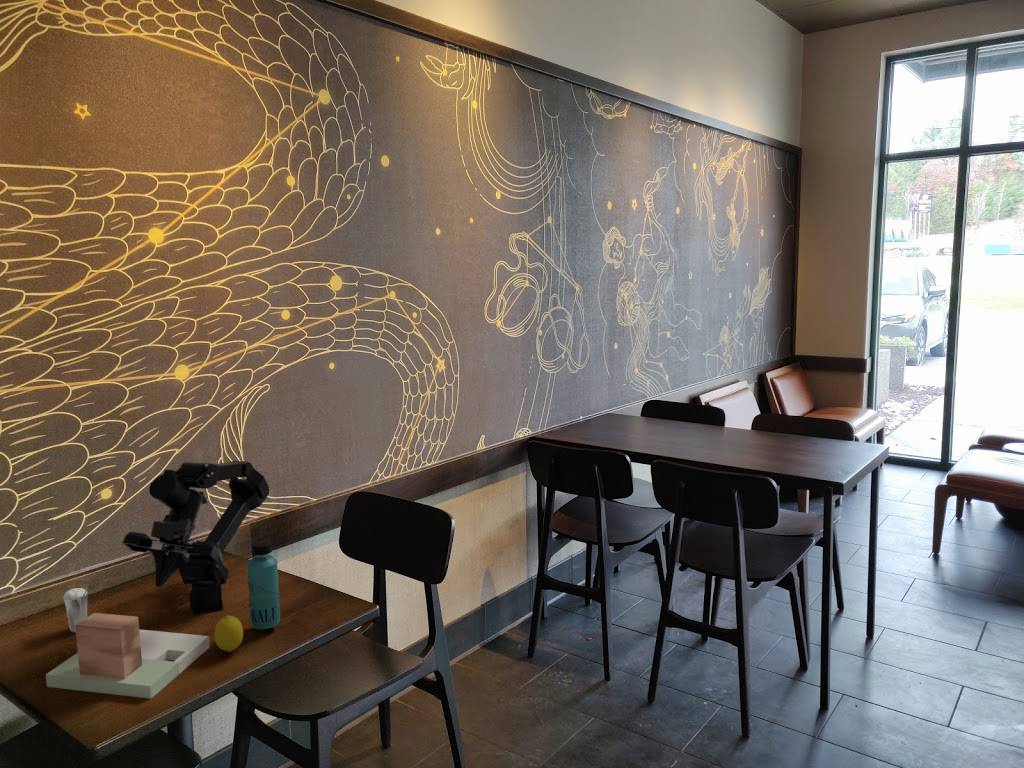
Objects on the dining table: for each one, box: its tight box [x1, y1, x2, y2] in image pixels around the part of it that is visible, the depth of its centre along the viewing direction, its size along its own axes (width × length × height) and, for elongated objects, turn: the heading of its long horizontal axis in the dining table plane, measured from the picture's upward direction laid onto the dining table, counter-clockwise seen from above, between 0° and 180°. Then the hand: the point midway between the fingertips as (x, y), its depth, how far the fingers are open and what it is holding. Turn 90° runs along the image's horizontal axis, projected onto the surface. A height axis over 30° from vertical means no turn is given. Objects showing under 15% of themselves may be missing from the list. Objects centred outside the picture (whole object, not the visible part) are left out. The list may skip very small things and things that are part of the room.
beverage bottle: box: [246, 540, 282, 630], centre depth 163 cm, size 6×7×20 cm
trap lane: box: [45, 628, 211, 700], centre depth 150 cm, size 19×22×2 cm
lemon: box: [214, 615, 244, 653], centre depth 155 cm, size 6×6×8 cm
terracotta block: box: [75, 612, 142, 679], centre depth 143 cm, size 5×10×10 cm, turn 80°
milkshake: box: [63, 586, 89, 633], centre depth 164 cm, size 4×5×10 cm
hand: (158, 586), depth 157 cm, fingers closed
